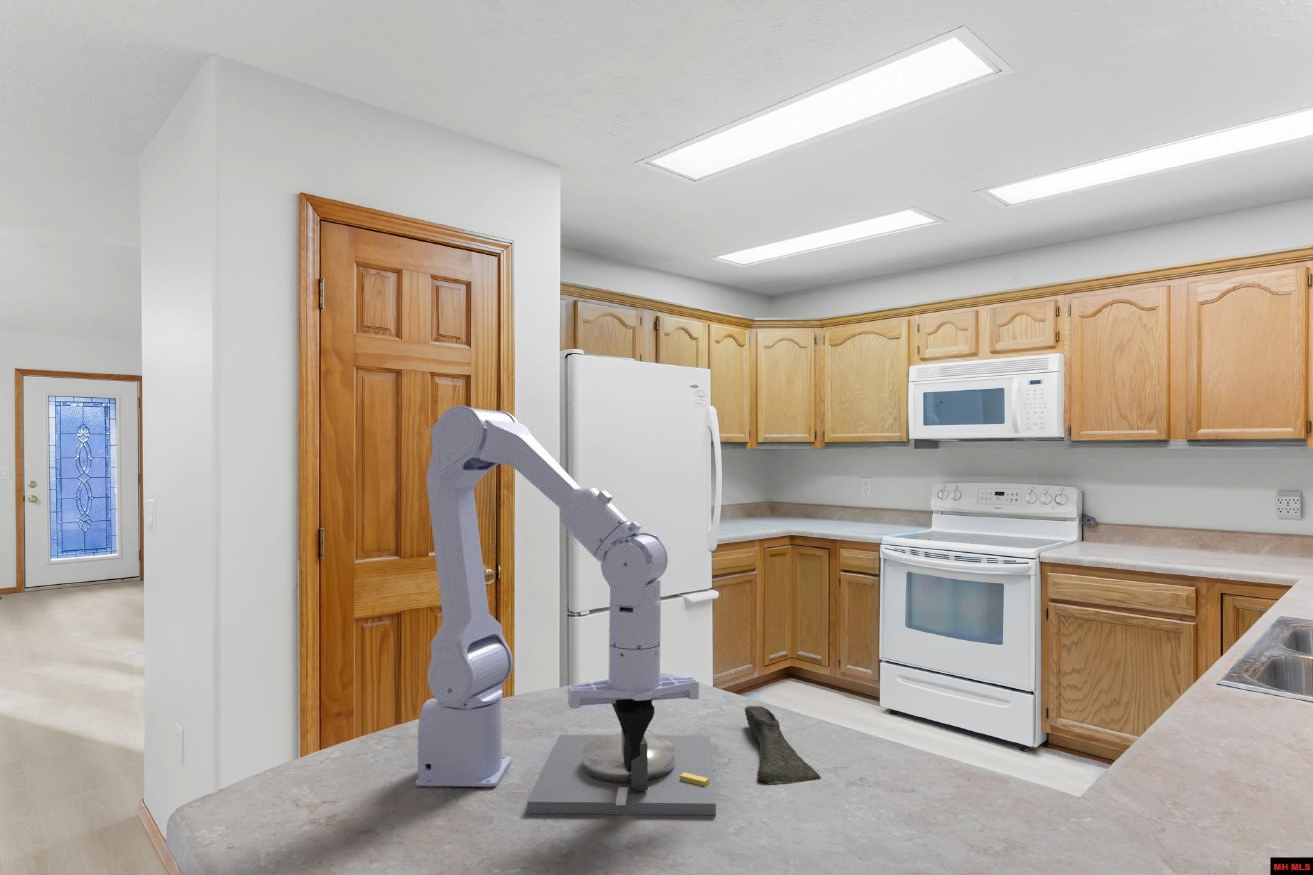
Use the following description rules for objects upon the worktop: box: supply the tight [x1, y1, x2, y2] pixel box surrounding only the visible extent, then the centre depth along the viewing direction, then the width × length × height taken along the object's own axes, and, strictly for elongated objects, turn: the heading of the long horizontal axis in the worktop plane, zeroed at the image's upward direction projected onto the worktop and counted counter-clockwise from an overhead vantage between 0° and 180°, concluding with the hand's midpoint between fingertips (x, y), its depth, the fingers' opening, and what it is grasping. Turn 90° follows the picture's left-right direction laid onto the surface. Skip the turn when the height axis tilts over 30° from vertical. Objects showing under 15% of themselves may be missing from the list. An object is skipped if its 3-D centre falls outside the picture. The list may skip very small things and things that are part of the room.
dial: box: [582, 730, 675, 792], centre depth 88 cm, size 14×11×5 cm
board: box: [527, 734, 717, 816], centre depth 89 cm, size 20×21×2 cm
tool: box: [744, 705, 822, 785], centre depth 97 cm, size 21×8×3 cm, turn 6°
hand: (633, 767), depth 83 cm, fingers closed, pressing on dial
